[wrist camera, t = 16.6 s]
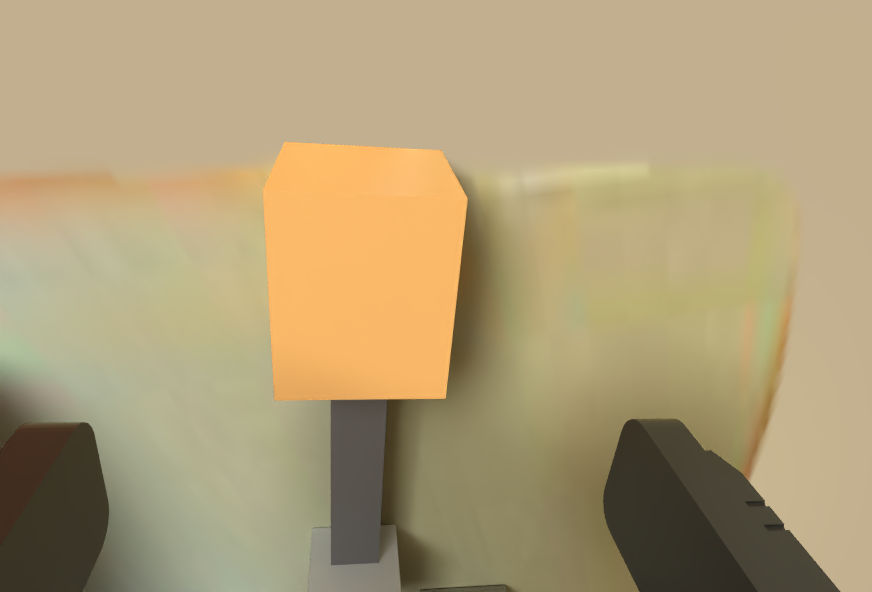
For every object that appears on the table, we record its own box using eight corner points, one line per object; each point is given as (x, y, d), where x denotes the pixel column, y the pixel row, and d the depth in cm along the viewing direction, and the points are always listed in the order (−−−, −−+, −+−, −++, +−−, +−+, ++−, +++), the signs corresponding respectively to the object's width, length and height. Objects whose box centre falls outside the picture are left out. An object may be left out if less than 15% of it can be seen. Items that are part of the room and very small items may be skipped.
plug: (299, 566, 22) (289, 676, 18) (284, 142, 15) (262, 190, 11) (406, 560, 22) (415, 666, 19) (441, 150, 15) (467, 198, 12)
